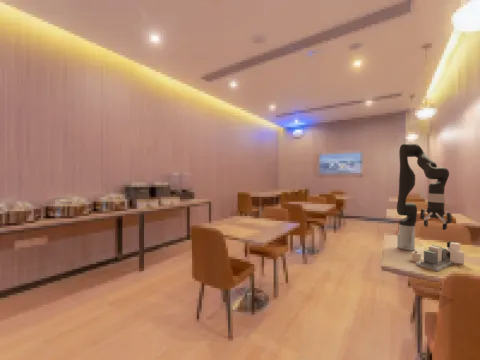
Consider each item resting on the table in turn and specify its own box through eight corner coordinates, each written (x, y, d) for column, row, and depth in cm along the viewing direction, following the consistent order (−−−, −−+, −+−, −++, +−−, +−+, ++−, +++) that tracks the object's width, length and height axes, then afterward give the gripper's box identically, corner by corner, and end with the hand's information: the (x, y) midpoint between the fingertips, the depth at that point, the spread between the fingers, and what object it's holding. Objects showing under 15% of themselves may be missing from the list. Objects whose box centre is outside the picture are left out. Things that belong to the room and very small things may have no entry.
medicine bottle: (442, 258, 142) (443, 240, 142) (456, 259, 140) (457, 241, 140) (449, 262, 136) (450, 243, 135) (464, 264, 134) (464, 244, 133)
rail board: (415, 265, 132) (416, 250, 132) (433, 258, 143) (433, 244, 142) (437, 271, 123) (437, 255, 123) (453, 264, 134) (454, 249, 134)
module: (428, 259, 134) (428, 245, 134) (432, 258, 136) (432, 244, 136) (437, 262, 130) (438, 248, 130) (441, 260, 132) (442, 246, 132)
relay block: (411, 260, 139) (411, 251, 139) (412, 258, 142) (412, 249, 142) (419, 262, 136) (419, 253, 136) (420, 260, 139) (420, 251, 139)
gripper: (418, 200, 137) (417, 226, 137) (448, 203, 124) (447, 231, 125) (424, 199, 140) (423, 224, 141) (454, 202, 128) (453, 230, 128)
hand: (435, 228), depth 133 cm, fingers open, 8 cm apart
